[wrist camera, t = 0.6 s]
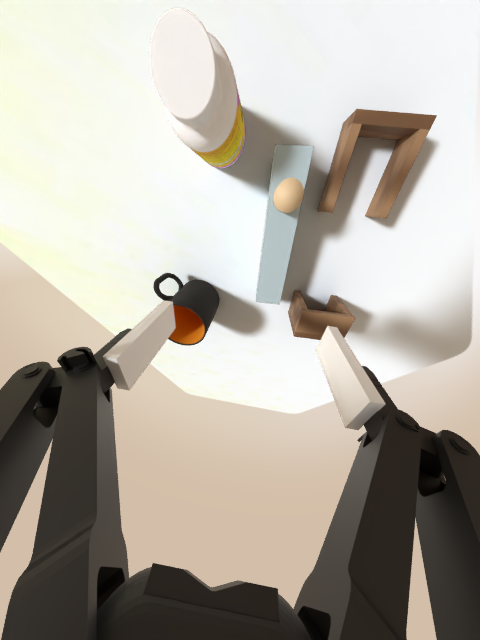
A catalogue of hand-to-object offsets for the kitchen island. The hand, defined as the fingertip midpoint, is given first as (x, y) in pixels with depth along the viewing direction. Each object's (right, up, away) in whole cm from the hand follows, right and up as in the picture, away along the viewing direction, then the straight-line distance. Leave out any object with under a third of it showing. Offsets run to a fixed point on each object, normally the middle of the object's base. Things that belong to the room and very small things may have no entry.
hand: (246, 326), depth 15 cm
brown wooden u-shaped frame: (+15, +20, +8) cm, 27 cm away
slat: (+5, +15, +14) cm, 21 cm away
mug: (-10, +7, +21) cm, 24 cm away
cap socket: (+14, +4, +19) cm, 24 cm away
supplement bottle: (-3, +25, +8) cm, 26 cm away
